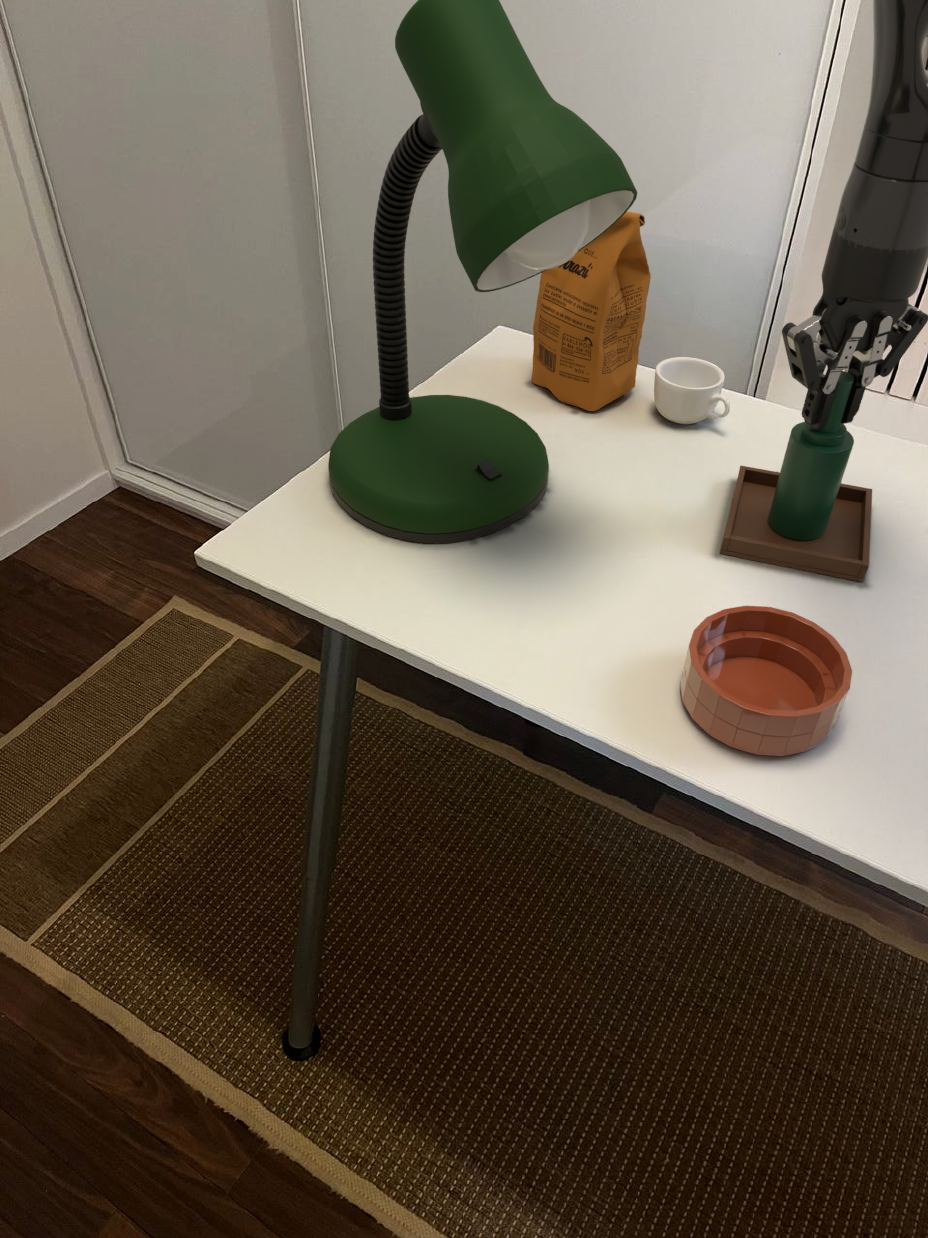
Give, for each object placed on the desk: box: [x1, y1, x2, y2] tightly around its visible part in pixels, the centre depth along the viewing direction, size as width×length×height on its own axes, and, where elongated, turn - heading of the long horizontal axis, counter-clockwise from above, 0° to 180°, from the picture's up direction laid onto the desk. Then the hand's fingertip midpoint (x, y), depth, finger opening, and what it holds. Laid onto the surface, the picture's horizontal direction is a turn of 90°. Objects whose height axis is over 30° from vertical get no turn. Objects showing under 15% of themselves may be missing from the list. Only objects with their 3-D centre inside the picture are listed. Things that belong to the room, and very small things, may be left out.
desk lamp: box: [327, 0, 638, 544], centre depth 83 cm, size 31×23×45 cm
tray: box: [719, 465, 873, 583], centre depth 93 cm, size 13×13×2 cm
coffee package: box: [531, 211, 652, 412], centre depth 108 cm, size 10×12×22 cm
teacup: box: [653, 356, 731, 425], centre depth 108 cm, size 10×8×5 cm
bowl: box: [679, 605, 853, 757], centre depth 75 cm, size 12×12×5 cm
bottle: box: [768, 370, 855, 541], centre depth 88 cm, size 6×6×16 cm
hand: (827, 421), depth 86 cm, fingers closed on bottle, 2 cm apart
